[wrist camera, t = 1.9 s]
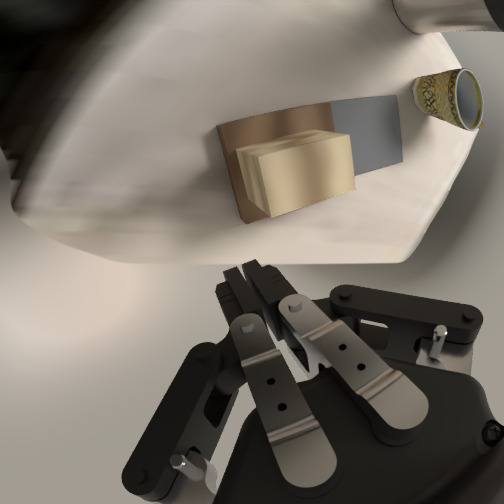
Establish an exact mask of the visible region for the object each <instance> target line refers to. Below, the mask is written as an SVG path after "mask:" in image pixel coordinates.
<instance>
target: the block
mask: <svg viewBox="0 0 504 504" xmlns="http://www.w3.org/2000/svg"><path fill="white" fill-rule="evenodd" d="M236 152H237V156H238V160H239V164H240V168H241V172H242V176H243V180H244V184H245V188H246V192H247V196H248V199H249V200H250V201H251V202H253V203H254V204H255V205H256V206H257V207H259V208H260V209H261V210H262V211H264V212H265V213H266V214H267V215H268V216H269V217H271V218H273V217H276V216H279V215H282V214H285V213H287V212H290V211H293V210H296V209H299V208H302V207H305V206H308V205H311V204H314V203H317V202H319V201H322V200H325V199H328V198H331V197H334V196H337V195H340V194H343V193H346V192H349V191H352V190H355V189H356V188H355V177H354V167H353V158H352V150H351V142H350V135H348V134H342V133H335V132H328V131H321V130H311V131H306V132H301V133H297V134H293V135H288V136H284V137H280V138H276V139H272V140H268V141H264V142H260V143H257V144H253V145H249V146H246V147H242V148H238V149H236Z"/></svg>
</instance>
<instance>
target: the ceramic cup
mask: <svg viewBox="0 0 504 504" xmlns="http://www.w3.org/2000/svg"><path fill="white" fill-rule="evenodd" d="M412 91H413V96H414V101H415V104H416V105H417V106H418V107H419V108H420V110H421V111H422V112H423V113H425V114H428V115H430V116H433V117H436V118H438V119H441V120H444V121H447V122H449V123H451V124H453V125H455V126H458V127H460V128H463V129H465V130H468V131H474V130H476V129H477V128H479V129H480V128H482V127H483V122H482V116H483V95H482V90H481V87H480V84H479V82H478V79H477V78H476V76H475V75H474V73H473V72H472V71H470V70H469V69H466V68H462V69H455V70H449V71H445V72H442V73H438V74H433V75H428V76H422V77H417V78H416V79H415V82H414V85H413V87H412Z"/></svg>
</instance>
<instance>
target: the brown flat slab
mask: <svg viewBox="0 0 504 504" xmlns="http://www.w3.org/2000/svg"><path fill="white" fill-rule="evenodd" d="M217 130H218V133H219V137H220V141H221V145H222V149H223V152H224V156H225V160H226V164H227V168H228V171H229V175H230V179H231V183H232V187H233V190H234V194H235V198H236V202H237V205H238V209H239V213H240V217H241V220H242V221H243V222H244V223H245V224H249V223H252V222H254V221H257V220H260V219H263V218H266V217H269V216H268V215H267V214H266V213H265V212H264V211H262V210H261V209H260V208H259V207H257V206H256V205H255V204H254V203H253V202H251V201H250V200H249V199H248V196H247V192H246V188H245V184H244V180H243V176H242V172H241V168H240V164H239V160H238V156H237V152H236V149H238V148H242V147H246V146H249V145H253V144H257V143H260V142H264V141H268V140H272V139H276V138H280V137H284V136H288V135H293V134H297V133H301V132H306V131H311V130H321V131H328V132H335V127H334V121H333V115H332V109H331V104H330V103H319V104H312V105H306V106H300V107H295V108H290V109H284V110H279V111H274V112H270V113H265V114H261V115H256V116H252V117H248V118H244V119H240V120H236V121H232V122H228V123H224V124H221V125H217Z"/></svg>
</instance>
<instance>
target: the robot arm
mask: <svg viewBox="0 0 504 504" xmlns="http://www.w3.org/2000/svg"><path fill="white" fill-rule="evenodd" d="M393 4H394V8H395V10H396V13H397V15H398V17H399V18H400V20H401V21H402V22H403V24H404V25H405V26H406V27H407V28H408V29H409V30H411V31H412V32H414V33H417V34H423V33H434V32H452V31H496V32H504V0H393ZM242 268H243V272H244V275H245V279H246V281H245V279H244V277H243V276H242V274H241V273H240V271H239V269H238V268H237V266H236V267H234V268H231V269H229V270H226V271H223V274H224V277H225V280H226V281H225V282H223V283H220V284H217V286H216V291H215V293H216V295H217V298H218V300H219V303H220V306H221V308H222V311H223V313H224V316H225V318H226V321H227V323H228V325H229V332H228V334H227V335H226V337H225V338H224V339H223V340H222V341H220V342H219V343H218V344H214V343H211V342H205V343H200V344H198V345H196V346H194V347H193V348H192V349H191V350H190V351H189V353H188V355H187V356H186V358H185V360H184V362H183V364H182V366H181V367H180V369H179V371H178V372H177V374H176V376H175V378H174V379H173V381H172V383H171V385H170V387H169V388H168V390H167V392H166V394H165V395H164V398H163V399H162V401H161V403H160V405H159V406H158V408H157V410H156V412H155V414H154V415H153V417H152V419H151V421H150V422H149V424H148V426H147V428H146V430H145V431H144V433H143V435H142V437H141V438H140V440H139V442H138V444H137V446H136V448H135V449H134V451H133V453H132V455H131V457H130V458H129V460H128V462H127V464H126V466H125V467H124V469H123V472H122V483H123V485H124V487H125V488H126V490H128V491H129V492H130V493H132V494H134V495H137V496H139V497H141V498H142V499H144V500H146V501H149V502H151V503H154V504H504V426H503V425H501V424H499V423H498V422H497V421H496V420H495V418H494V416H493V414H492V412H491V410H490V408H489V405H488V402H487V398H486V394H485V391H484V389H483V387H482V386H481V384H480V383H479V382H478V381H477V380H475V378H473V377H471V376H470V375H471V365H472V355H473V344H474V342H475V339H476V337H477V335H478V332H479V330H480V328H481V325H482V323H483V315H482V313H481V312H480V310H479V309H477V308H476V307H474V306H472V305H467V304H460V303H454V302H448V301H441V300H436V299H429V298H424V297H418V296H412V295H405V294H400V293H394V292H388V291H382V290H377V289H371V288H365V287H360V286H354V285H340V286H337V287H335V288H334V289H333V290H332V291H331V293H330V297H329V298H324V299H319V300H310V299H309V298H308V297H307V296H305V295H302V294H298V293H297V292H296V290H295V289H294V288H293V287H292V286H291V284H290V283H289V282H288V281H287V280H286V279H285V277H284V276H283V275H282V274H281V272H280V271H279V270H278V269H277V268H276V267H273V266H271V265H266V266H264V267H261V265H260V264H259V263H258V261H257V260H256V259H255V260H252V261H249V262H247V263H244V264H242ZM361 319H363V320H368V321H373V322H378V323H383V324H385V325H387V327H388V328H384V327H380V326H375V325H369V324H365V323H361ZM266 322H267V324H268V326H269V327H270V329H271V331H272V332H273V334H274V335H275V337H276V339H277V341H280V340H282V339H284V340H285V342H286V343H287V348H288V351H289V353H290V354H291V355H292V357H293V358H294V360H295V361H296V362H297V364H298V365H299V366H300V368H301V369H302V370H303V372H304V373H305V374H306V376H307V377H308V378H309V380H307V381H303V382H298V383H296V381H295V379H294V377H293V375H292V373H291V371H290V369H289V367H288V365H287V364H286V361H285V359H284V357H283V356H282V354H281V352H280V350H277V348H276V347H275V344H274V342H273V340H272V338H271V336H270V334H269V331H268V328H267V324H266ZM246 382H248V385H249V388H250V391H251V393H252V396H253V399H254V401H255V404H256V408H255V409H254V410H253V411H252V412H251V413H250V414H249V415H248V417H247V418H246V419H245V421H244V423H243V425H242V428H241V430H240V433H239V436H238V439H237V442H236V444H235V447H234V449H233V452H232V455H231V457H230V460H229V463H228V466H227V468H226V471H225V473H224V476H223V478H222V481H221V483H220V486H219V488H218V491H217V490H216V480H217V471H216V469H215V467H214V466H213V465H212V464H211V463H210V460H211V457H212V455H213V453H214V450H215V448H216V446H217V443H218V441H219V439H220V436H221V434H222V431H223V429H224V427H225V424H226V422H227V419H228V417H229V415H230V412H231V410H232V407H233V405H234V402H235V400H236V397H237V395H238V392H239V388H240V387H241V386H242V385H243V384H245V383H246Z"/></svg>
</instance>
